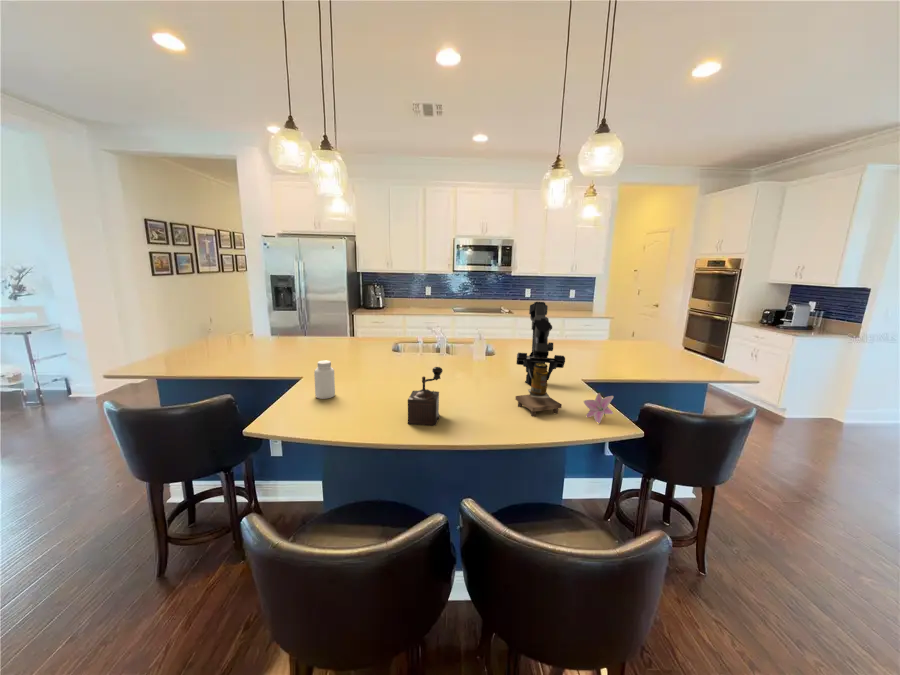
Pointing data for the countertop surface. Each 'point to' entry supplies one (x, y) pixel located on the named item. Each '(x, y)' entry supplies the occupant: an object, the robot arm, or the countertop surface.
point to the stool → (537, 403)
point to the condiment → (539, 381)
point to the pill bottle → (324, 380)
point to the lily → (599, 407)
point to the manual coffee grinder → (424, 404)
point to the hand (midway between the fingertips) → (539, 379)
